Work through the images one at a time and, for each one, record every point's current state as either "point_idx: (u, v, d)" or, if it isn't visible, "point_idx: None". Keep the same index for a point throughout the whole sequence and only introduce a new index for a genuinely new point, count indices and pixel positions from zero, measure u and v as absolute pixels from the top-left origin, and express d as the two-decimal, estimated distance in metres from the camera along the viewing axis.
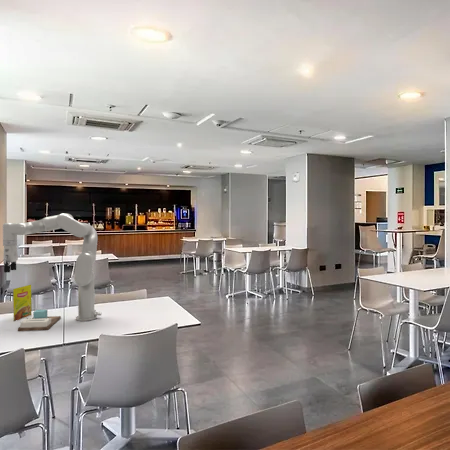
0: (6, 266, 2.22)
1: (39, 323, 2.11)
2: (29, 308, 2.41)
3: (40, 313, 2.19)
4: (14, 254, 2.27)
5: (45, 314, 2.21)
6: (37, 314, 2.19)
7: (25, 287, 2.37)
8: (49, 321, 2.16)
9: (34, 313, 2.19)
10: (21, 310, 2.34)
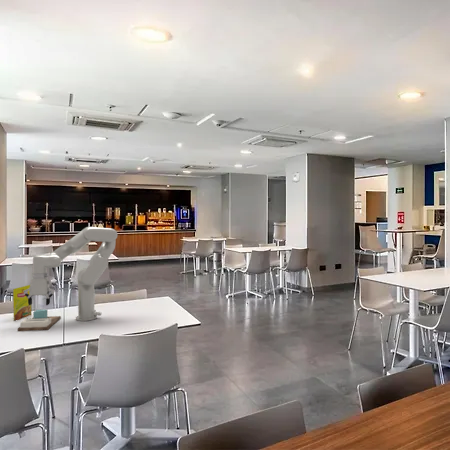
0: (49, 298, 2.22)
1: (39, 323, 2.11)
2: (29, 308, 2.41)
3: (40, 313, 2.19)
4: None
5: (45, 314, 2.21)
6: (37, 314, 2.19)
7: (25, 287, 2.37)
8: (49, 321, 2.16)
9: (34, 313, 2.19)
10: (21, 310, 2.34)
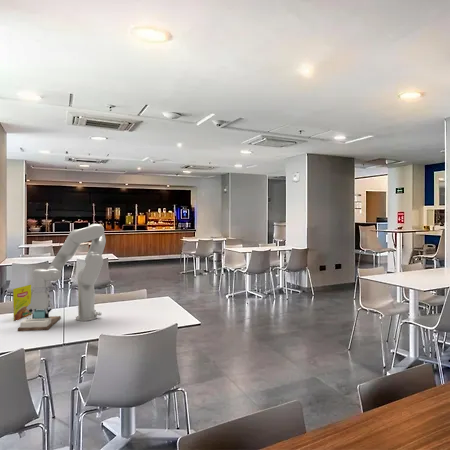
0: (48, 313, 2.22)
1: (39, 323, 2.11)
2: None
3: (40, 313, 2.19)
4: None
5: None
6: (37, 314, 2.19)
7: (25, 287, 2.37)
8: (49, 321, 2.16)
9: (34, 313, 2.19)
10: (21, 310, 2.34)
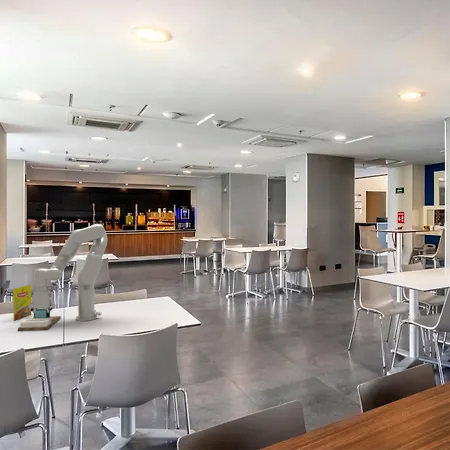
0: (49, 312, 2.25)
1: (39, 323, 2.11)
2: None
3: (41, 312, 2.21)
4: None
5: None
6: (38, 313, 2.21)
7: (25, 287, 2.37)
8: (49, 321, 2.16)
9: (36, 312, 2.21)
10: (21, 310, 2.34)
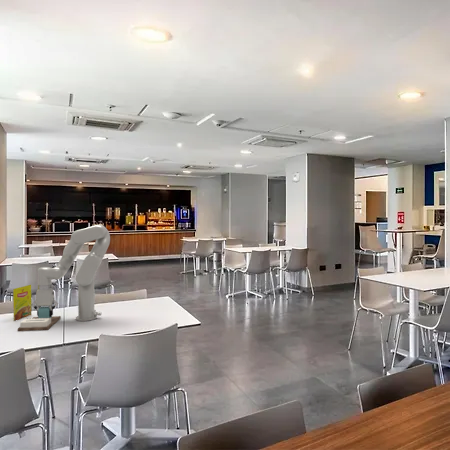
0: (52, 310, 2.30)
1: (39, 323, 2.11)
2: (29, 308, 2.41)
3: (45, 310, 2.27)
4: None
5: None
6: (42, 311, 2.26)
7: (25, 287, 2.37)
8: (49, 321, 2.16)
9: (39, 310, 2.26)
10: (21, 310, 2.34)
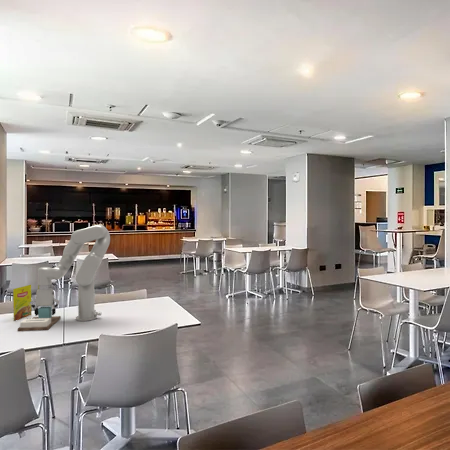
0: None
1: (39, 323, 2.11)
2: (29, 308, 2.41)
3: (45, 310, 2.27)
4: None
5: (49, 311, 2.29)
6: (42, 311, 2.26)
7: (25, 287, 2.37)
8: (49, 321, 2.16)
9: (39, 310, 2.26)
10: (21, 310, 2.34)
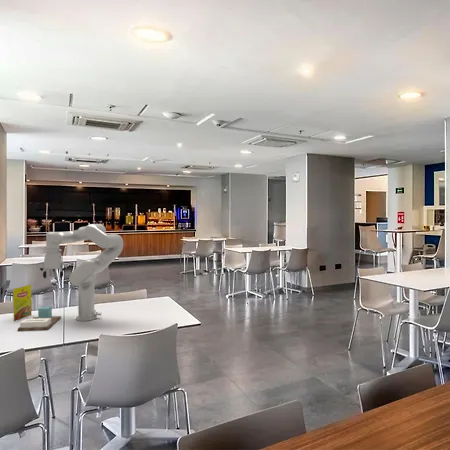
0: (62, 271, 2.41)
1: (39, 323, 2.11)
2: (29, 308, 2.41)
3: (45, 310, 2.27)
4: None
5: (49, 311, 2.29)
6: (42, 311, 2.26)
7: (25, 287, 2.37)
8: (49, 321, 2.16)
9: (39, 310, 2.26)
10: (21, 310, 2.34)
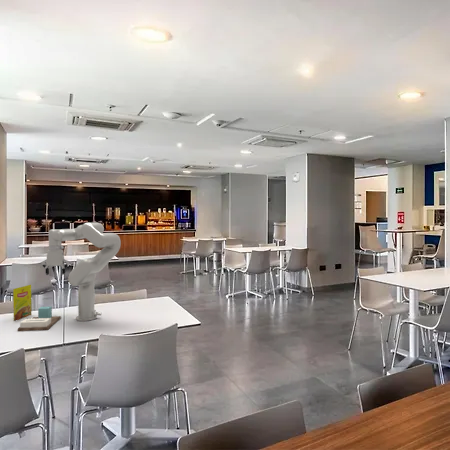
0: (64, 268, 2.44)
1: (39, 323, 2.11)
2: (29, 308, 2.41)
3: (45, 310, 2.27)
4: None
5: (49, 311, 2.29)
6: (42, 311, 2.26)
7: (25, 287, 2.37)
8: (49, 321, 2.16)
9: (39, 310, 2.26)
10: (21, 310, 2.34)
